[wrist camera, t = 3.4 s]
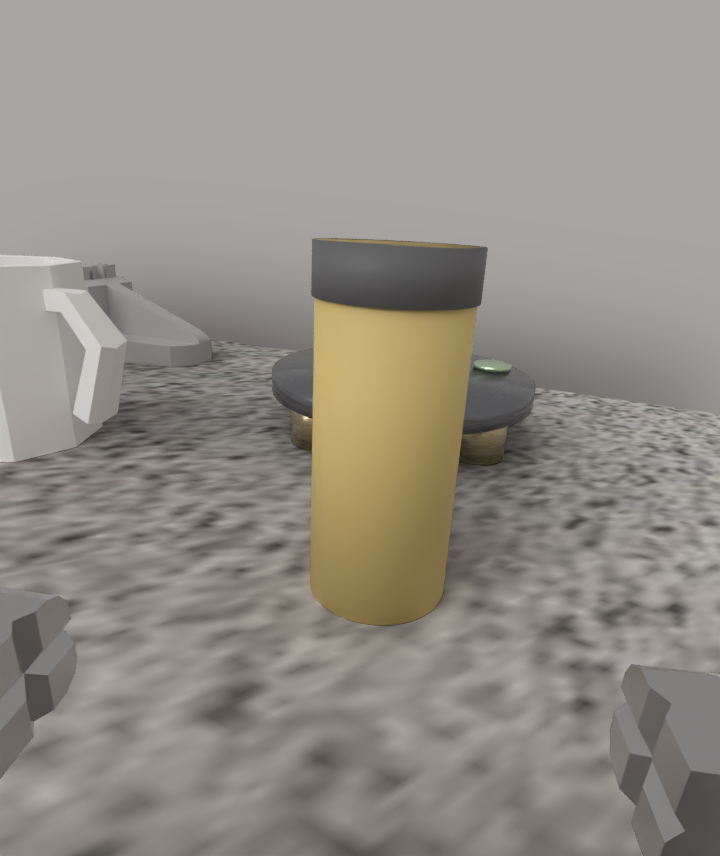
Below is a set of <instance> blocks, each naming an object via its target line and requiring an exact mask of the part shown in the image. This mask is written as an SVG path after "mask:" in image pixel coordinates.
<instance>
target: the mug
mask: <svg viewBox="0 0 720 856" xmlns="http://www.w3.org/2000/svg"><path fill="white" fill-rule="evenodd" d="M126 346H127V340H126V339H125V337H124V336H123V335H122V334H121V332H120V331H119V330H118V329H117V327H116V326H115V325H114V324H113V323H112V321H111V320H110V319H109V318H108V316H107V315H106V314H105V313H104V311H103V310H102V309H101V308H100V306H99V305H98V304H97V303H96V301H95V300H94V299H93V298H92V296H91V295H90V294H89V293H88V292H87V290H85V282H84V274H83V266H82V261H77V260H71V259H65V258H60V257H44V256H43V257H41V256H17V255H0V462H18V461H22V460H26V459H30V458H34V457H38V456H42V455H46V454H50V453H54V452H58V451H62V450H66V449H71V448H75V447H77V446H78V445H79V444H81V443H82V442H83V441H85V440H86V439H87V438H88V437H90V436H91V435H92V434H93V433H95V432H96V431H97V430H99V429H100V428H101V427H102V426H103V425H102V422H104V421H106V420H107V419H109V418H110V417H112V416H114V415H115V414H117V413H118V408H119V400H120V392H121V385H122V377H123V369H124V362H125V354H126Z"/></svg>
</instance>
